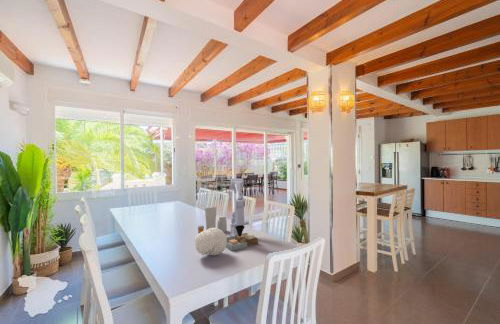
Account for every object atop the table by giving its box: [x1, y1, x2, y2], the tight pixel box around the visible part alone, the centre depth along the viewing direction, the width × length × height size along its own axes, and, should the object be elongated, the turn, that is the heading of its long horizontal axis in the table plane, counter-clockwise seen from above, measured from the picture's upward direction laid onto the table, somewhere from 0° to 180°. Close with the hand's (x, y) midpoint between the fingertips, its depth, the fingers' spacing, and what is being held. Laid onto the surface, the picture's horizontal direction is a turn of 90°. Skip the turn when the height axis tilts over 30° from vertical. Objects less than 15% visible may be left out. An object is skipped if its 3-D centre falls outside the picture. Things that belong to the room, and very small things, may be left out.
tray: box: [225, 236, 248, 252], centre depth 160 cm, size 16×12×4 cm
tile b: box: [245, 233, 255, 239], centre depth 164 cm, size 4×4×2 cm
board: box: [235, 232, 259, 247], centre depth 167 cm, size 14×10×4 cm
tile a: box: [229, 239, 238, 245], centre depth 163 cm, size 4×4×2 cm
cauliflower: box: [194, 227, 227, 256], centre depth 142 cm, size 20×18×16 cm
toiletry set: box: [197, 206, 228, 235], centre depth 187 cm, size 25×8×21 cm, turn 129°
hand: (239, 236), depth 166 cm, fingers closed
